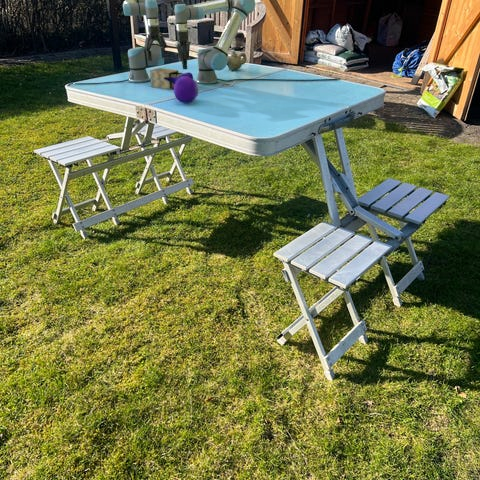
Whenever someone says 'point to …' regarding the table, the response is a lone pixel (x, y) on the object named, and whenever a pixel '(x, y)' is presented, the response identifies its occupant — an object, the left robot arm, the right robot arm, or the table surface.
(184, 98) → the toy
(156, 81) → the tan cardboard box
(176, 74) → the drawer
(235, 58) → the teapot
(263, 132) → the table surface
